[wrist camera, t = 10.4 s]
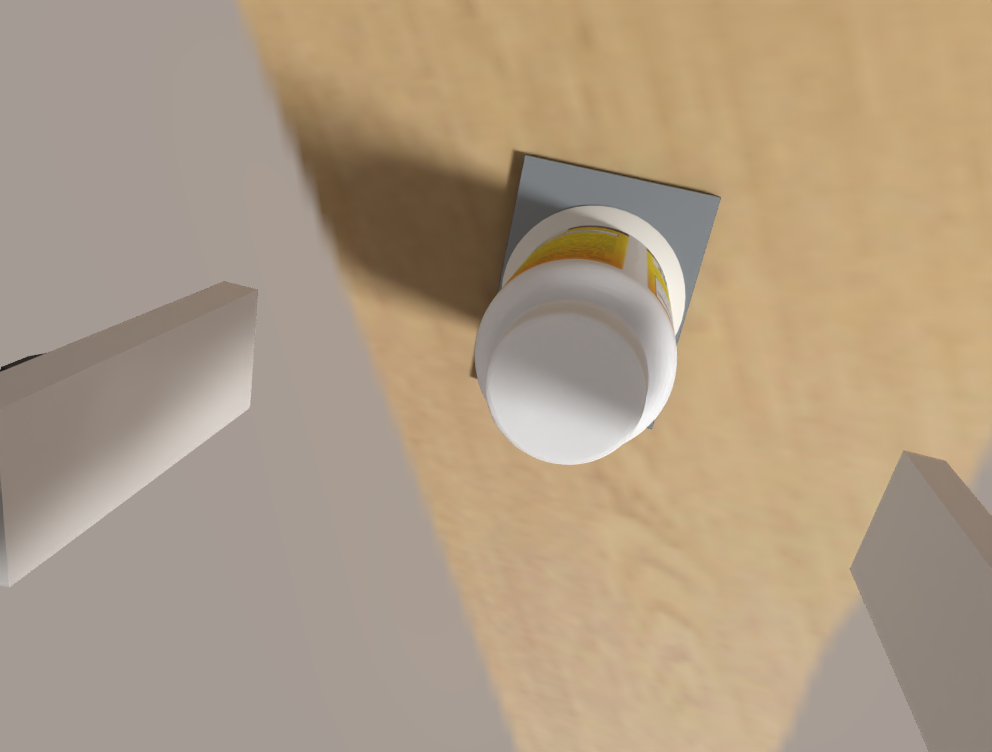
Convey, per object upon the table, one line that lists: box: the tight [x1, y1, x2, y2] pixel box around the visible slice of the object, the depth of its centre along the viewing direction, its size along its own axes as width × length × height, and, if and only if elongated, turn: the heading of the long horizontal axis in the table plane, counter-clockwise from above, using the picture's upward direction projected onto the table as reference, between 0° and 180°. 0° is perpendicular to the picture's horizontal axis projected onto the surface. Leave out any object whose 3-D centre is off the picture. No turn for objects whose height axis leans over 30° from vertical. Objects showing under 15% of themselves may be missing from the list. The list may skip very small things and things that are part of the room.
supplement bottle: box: [475, 225, 677, 465], centre depth 22 cm, size 6×6×10 cm
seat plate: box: [498, 155, 721, 429], centre depth 27 cm, size 9×7×1 cm
